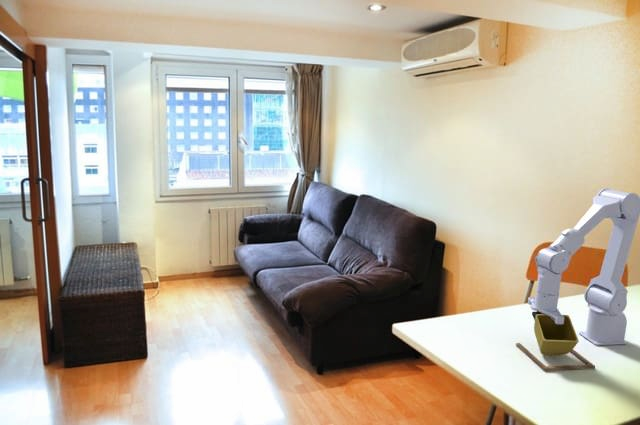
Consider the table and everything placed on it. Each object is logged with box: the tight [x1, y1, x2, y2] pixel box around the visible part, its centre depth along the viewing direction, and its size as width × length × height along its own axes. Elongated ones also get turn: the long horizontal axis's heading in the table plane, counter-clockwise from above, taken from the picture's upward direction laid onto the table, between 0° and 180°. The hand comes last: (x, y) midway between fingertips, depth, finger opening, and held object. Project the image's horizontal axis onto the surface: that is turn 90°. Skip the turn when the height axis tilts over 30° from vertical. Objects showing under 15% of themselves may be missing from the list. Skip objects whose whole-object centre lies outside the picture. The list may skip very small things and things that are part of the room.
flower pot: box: [533, 314, 579, 357], centre depth 130 cm, size 9×9×9 cm
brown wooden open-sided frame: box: [515, 342, 596, 372], centre depth 130 cm, size 14×14×1 cm
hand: (541, 337), depth 135 cm, fingers closed, pressing on flower pot
